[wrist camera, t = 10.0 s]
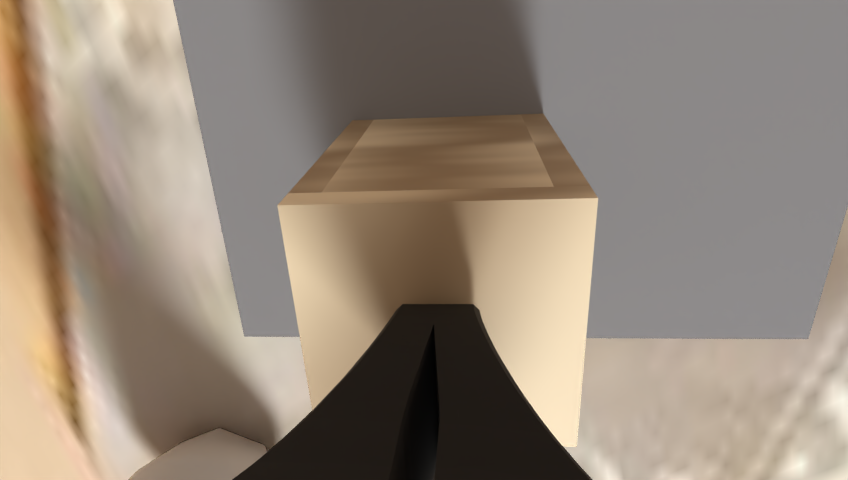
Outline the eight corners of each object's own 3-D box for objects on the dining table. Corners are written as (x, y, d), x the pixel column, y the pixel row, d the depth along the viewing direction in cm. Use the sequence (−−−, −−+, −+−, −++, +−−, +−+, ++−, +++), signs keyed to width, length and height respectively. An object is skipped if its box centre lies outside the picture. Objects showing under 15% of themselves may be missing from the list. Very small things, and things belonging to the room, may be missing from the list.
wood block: (543, 113, 15) (598, 198, 9) (536, 283, 17) (576, 447, 11) (352, 120, 15) (277, 205, 9) (369, 285, 17) (318, 443, 11)
